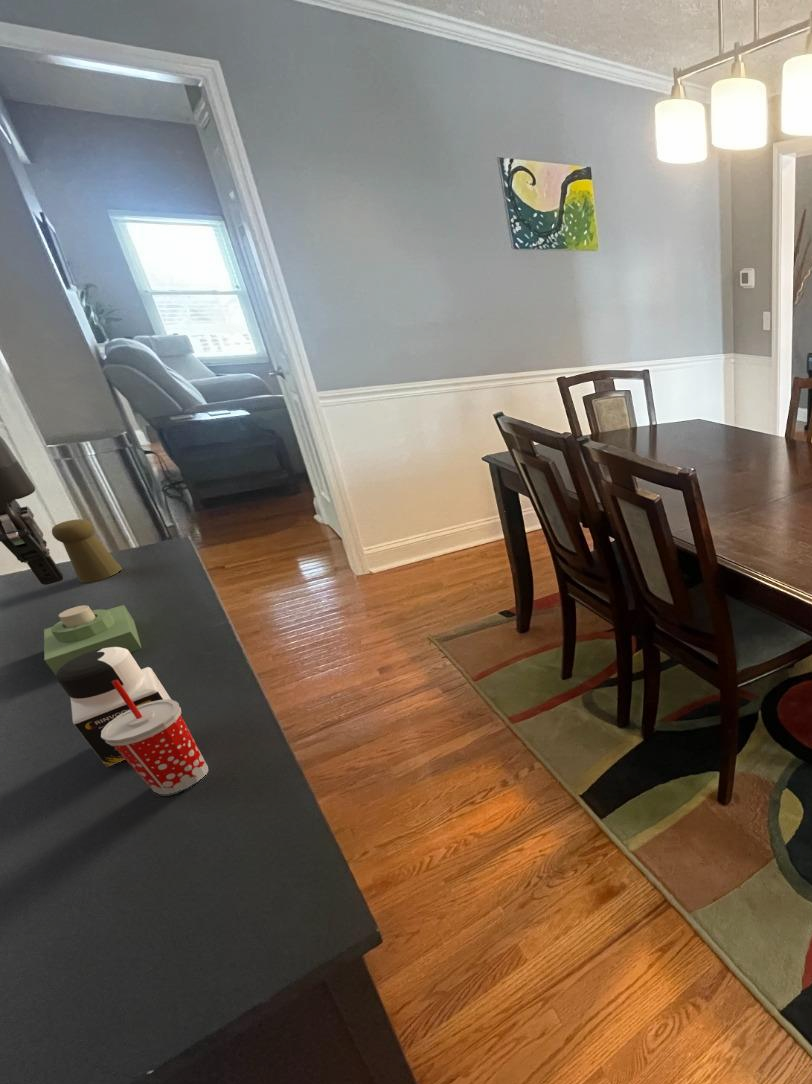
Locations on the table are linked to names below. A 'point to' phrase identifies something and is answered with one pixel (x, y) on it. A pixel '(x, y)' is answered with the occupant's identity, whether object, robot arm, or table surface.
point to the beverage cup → (156, 744)
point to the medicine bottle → (106, 693)
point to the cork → (85, 551)
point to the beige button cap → (76, 616)
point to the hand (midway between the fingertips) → (53, 581)
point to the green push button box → (90, 636)
